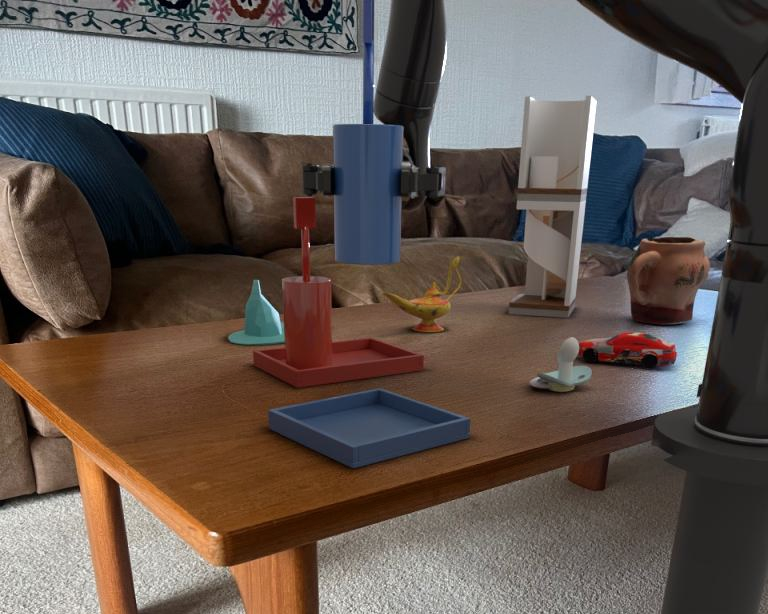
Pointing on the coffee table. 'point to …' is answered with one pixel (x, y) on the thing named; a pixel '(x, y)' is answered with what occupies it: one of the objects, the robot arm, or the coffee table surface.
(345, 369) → the red tray
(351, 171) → the blue pot
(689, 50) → the robot arm
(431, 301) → the magic lamp
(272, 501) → the coffee table surface
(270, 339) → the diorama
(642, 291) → the decorative planter
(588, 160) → the display case
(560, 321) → the coffee table surface
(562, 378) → the pacifier
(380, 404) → the blue tray
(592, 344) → the race car
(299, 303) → the red spoon pot
